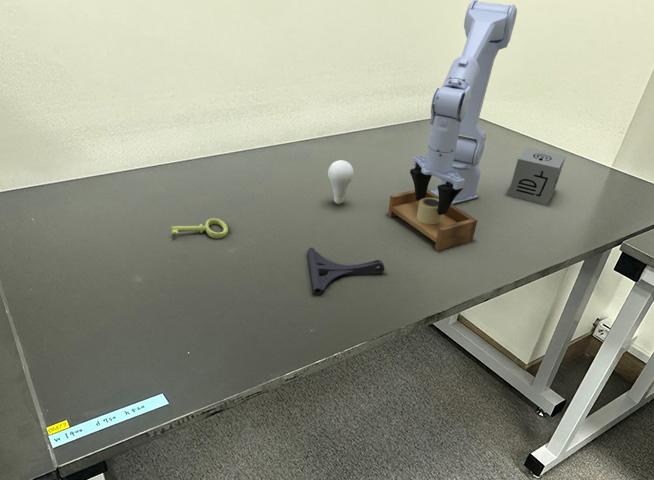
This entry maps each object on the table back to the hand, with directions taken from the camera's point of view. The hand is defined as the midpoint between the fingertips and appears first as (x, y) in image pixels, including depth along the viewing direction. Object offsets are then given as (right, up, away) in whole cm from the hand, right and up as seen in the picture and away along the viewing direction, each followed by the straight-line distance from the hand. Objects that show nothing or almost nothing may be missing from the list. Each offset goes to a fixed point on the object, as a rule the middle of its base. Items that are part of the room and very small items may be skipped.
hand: (430, 206), depth 119 cm
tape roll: (0, -3, +2) cm, 3 cm away
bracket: (-20, -16, -12) cm, 28 cm away
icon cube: (+31, +7, +22) cm, 39 cm away
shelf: (0, -4, +4) cm, 6 cm away
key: (-51, -6, -2) cm, 51 cm away
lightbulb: (-20, +3, +12) cm, 24 cm away
